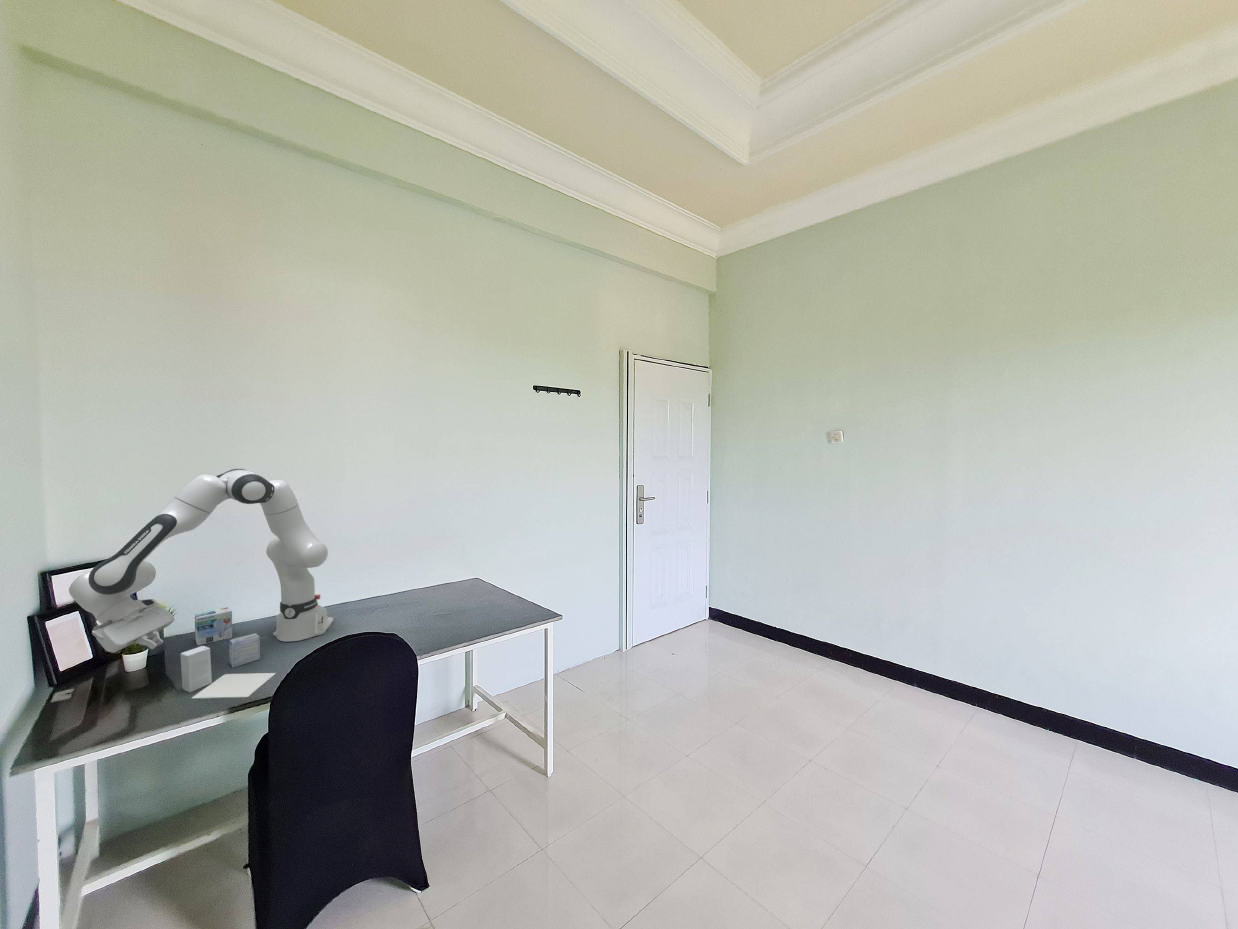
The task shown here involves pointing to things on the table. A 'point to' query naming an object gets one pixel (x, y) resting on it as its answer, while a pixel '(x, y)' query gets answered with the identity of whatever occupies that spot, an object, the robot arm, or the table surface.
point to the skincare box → (196, 668)
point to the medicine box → (244, 650)
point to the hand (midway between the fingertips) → (157, 645)
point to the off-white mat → (234, 686)
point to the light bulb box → (213, 625)
